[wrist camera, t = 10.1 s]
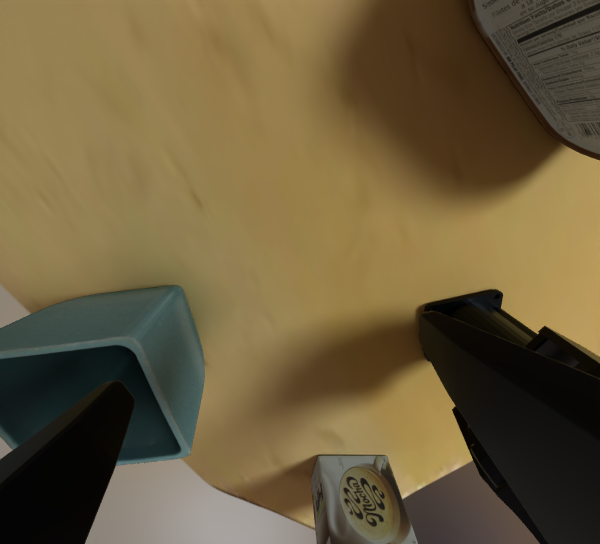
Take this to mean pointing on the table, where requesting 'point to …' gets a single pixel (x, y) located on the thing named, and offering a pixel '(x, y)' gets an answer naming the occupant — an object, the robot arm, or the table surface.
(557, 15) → the tin
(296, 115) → the table surface
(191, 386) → the flower pot
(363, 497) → the coffee box
